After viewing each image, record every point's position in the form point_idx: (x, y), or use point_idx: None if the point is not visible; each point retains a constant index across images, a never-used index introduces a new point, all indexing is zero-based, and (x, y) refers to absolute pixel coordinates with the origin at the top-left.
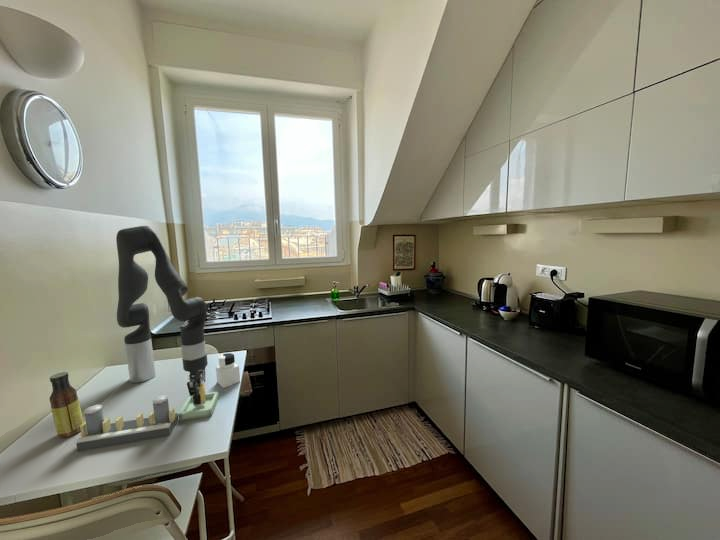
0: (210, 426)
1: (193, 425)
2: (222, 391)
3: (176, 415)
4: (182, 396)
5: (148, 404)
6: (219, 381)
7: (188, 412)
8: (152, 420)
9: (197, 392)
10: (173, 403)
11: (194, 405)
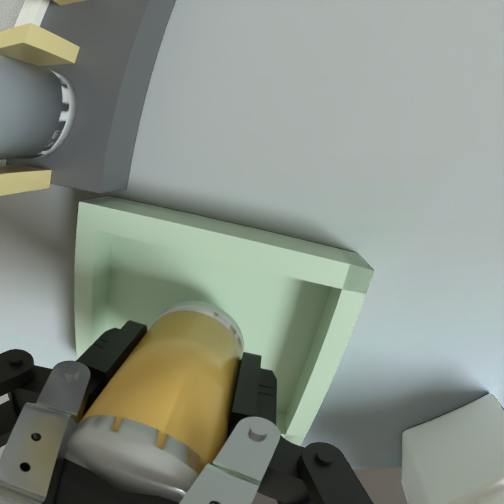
0: (29, 344)
1: (48, 277)
2: (365, 430)
3: (80, 188)
4: (472, 199)
5: (455, 5)
6: (459, 425)
7: (78, 270)
8: (18, 59)
9: (10, 416)
10: (406, 135)
11: (163, 312)
